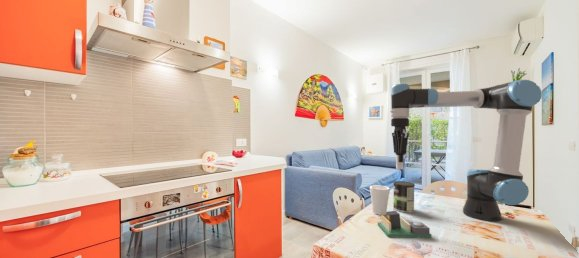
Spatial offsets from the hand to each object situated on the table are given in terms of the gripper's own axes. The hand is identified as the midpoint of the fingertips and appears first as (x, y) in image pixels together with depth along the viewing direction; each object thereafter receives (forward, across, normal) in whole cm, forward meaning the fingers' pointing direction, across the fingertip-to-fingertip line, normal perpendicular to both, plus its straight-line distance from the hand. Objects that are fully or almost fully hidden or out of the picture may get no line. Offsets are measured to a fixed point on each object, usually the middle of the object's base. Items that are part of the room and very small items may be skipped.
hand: (399, 168), depth 114 cm
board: (+24, +10, -3) cm, 27 cm away
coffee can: (+25, -18, +10) cm, 32 cm away
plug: (+23, +10, -6) cm, 26 cm away
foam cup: (+25, -12, -5) cm, 28 cm away
